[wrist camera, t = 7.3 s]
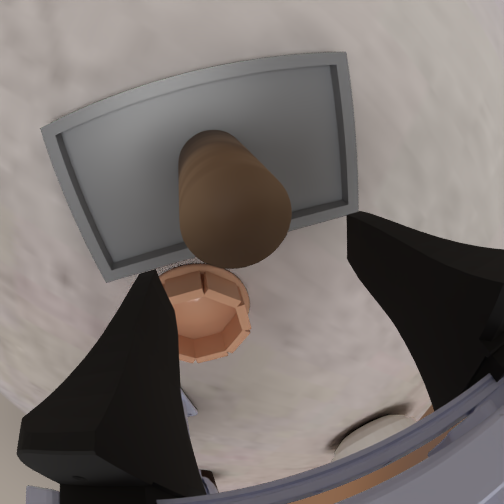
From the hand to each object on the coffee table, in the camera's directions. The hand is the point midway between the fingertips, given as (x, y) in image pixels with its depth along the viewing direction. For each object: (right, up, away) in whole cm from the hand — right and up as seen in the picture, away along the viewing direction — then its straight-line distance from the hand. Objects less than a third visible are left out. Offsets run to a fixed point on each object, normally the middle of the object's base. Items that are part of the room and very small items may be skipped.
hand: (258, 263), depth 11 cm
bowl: (+24, -36, +41) cm, 60 cm away
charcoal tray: (-3, +6, +7) cm, 9 cm away
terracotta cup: (-5, -4, +13) cm, 14 cm away
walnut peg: (-3, +6, +6) cm, 9 cm away
